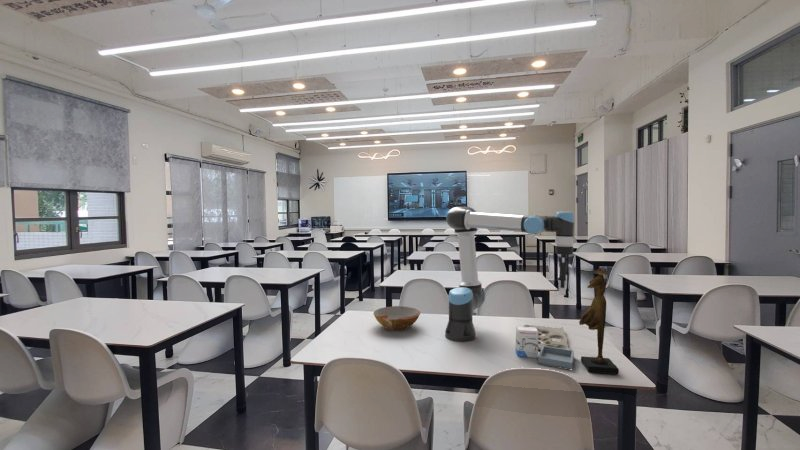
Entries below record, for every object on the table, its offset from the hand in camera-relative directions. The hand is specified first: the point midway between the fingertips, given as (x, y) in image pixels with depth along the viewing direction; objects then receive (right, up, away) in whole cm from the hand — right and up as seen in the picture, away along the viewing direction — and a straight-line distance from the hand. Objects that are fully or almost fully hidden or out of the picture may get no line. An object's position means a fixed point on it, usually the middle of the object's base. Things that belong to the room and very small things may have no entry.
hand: (562, 291), depth 169 cm
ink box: (-20, -26, -9) cm, 34 cm away
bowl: (-76, -25, +29) cm, 86 cm away
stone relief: (-5, -26, +9) cm, 28 cm away
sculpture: (+4, -27, -22) cm, 35 cm away
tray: (-9, -26, -15) cm, 32 cm away
